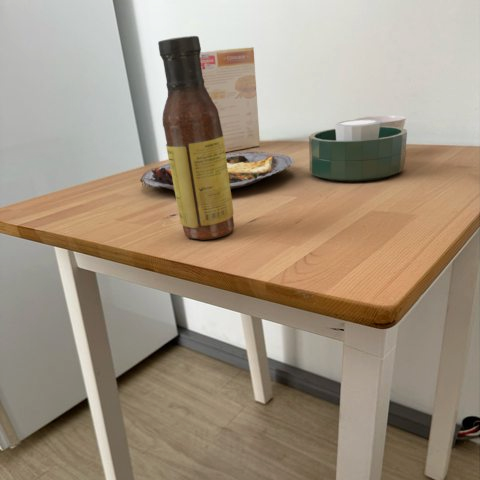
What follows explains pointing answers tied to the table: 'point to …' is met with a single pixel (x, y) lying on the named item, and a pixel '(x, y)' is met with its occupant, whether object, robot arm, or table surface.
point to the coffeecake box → (233, 94)
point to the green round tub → (357, 155)
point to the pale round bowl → (388, 120)
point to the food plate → (230, 169)
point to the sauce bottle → (195, 143)
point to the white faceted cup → (357, 130)
